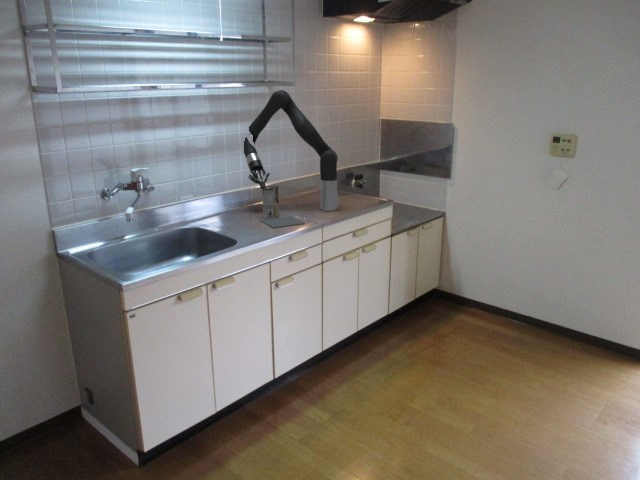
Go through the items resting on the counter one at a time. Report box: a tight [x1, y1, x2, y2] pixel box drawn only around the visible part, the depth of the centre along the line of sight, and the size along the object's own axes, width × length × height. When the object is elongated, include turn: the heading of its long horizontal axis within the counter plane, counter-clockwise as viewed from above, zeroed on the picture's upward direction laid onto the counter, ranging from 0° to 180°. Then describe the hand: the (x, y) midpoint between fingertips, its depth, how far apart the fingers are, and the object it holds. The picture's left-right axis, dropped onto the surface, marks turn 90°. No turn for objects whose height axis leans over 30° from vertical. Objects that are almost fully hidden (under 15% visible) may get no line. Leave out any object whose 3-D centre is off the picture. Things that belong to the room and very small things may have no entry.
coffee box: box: [261, 185, 280, 219], centre depth 282 cm, size 9×6×16 cm
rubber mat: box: [259, 215, 306, 229], centre depth 272 cm, size 18×16×1 cm
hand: (263, 188), depth 287 cm, fingers closed
